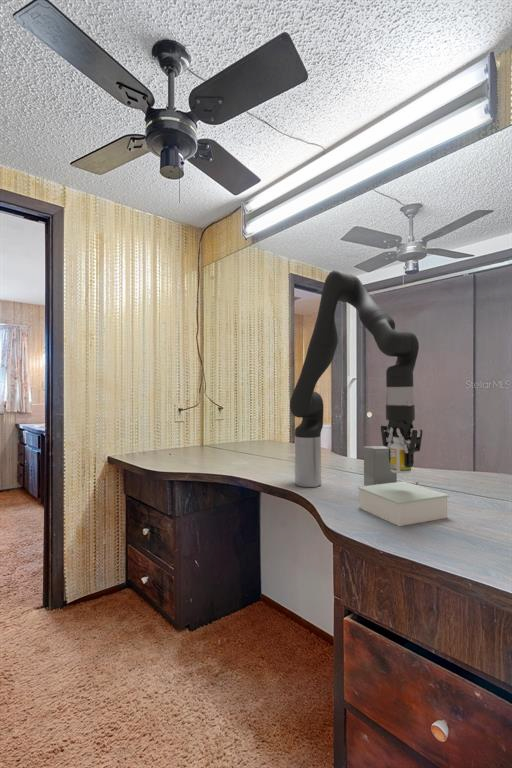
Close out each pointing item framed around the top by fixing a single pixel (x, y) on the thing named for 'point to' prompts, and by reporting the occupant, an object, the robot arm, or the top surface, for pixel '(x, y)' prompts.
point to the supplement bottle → (398, 457)
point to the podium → (403, 503)
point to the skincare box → (377, 466)
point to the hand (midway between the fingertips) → (400, 464)
